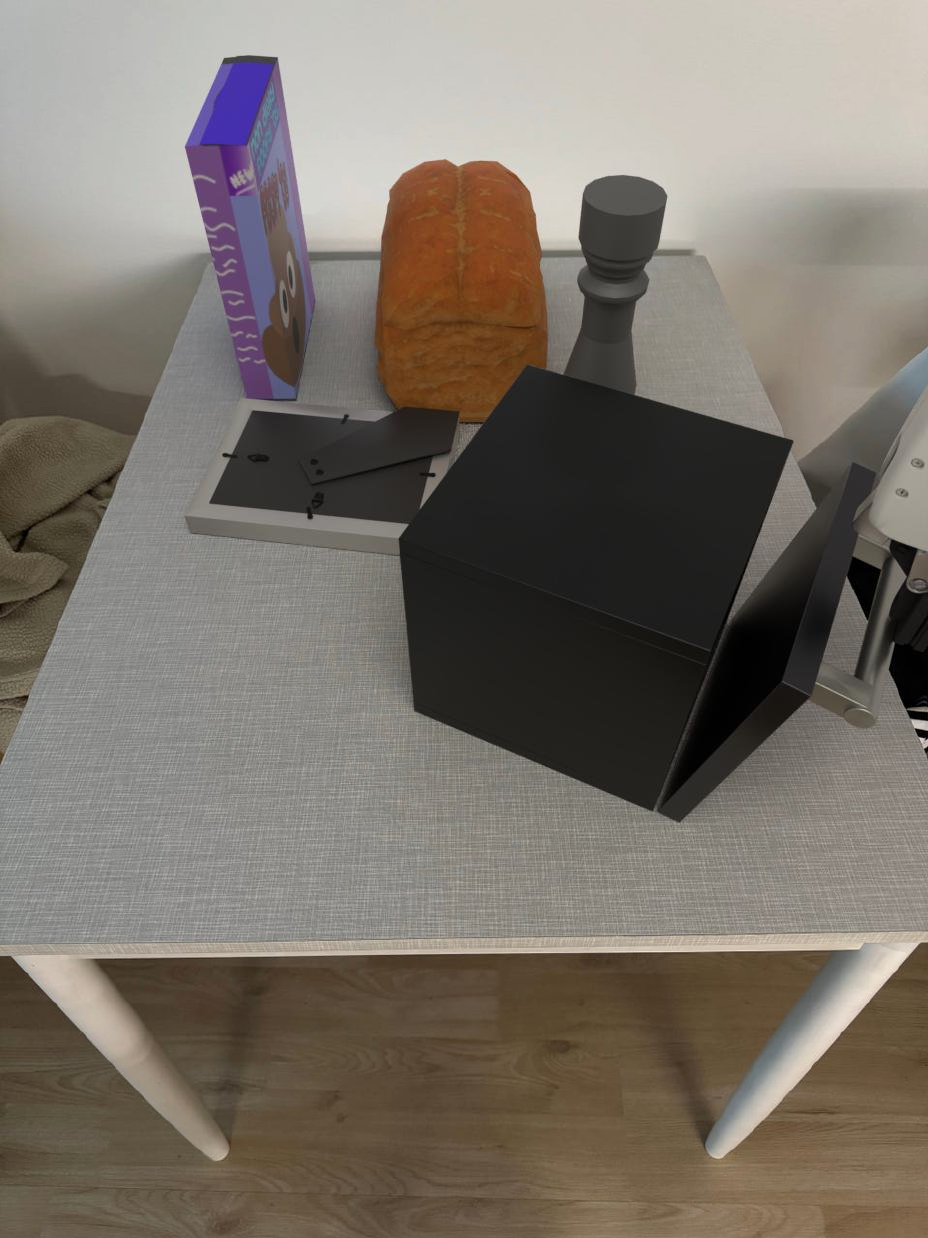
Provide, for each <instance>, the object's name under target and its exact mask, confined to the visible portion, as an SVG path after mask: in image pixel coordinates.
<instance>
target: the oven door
mask: <svg viewBox="0 0 928 1238" xmlns="http://www.w3.org/2000/svg"><path fill="white" fill-rule="evenodd" d="M877 474H878V473H877V472H876V471H874V470H872V469H870V468H868V467H866V466H864V465H860V464H859V463H856V462H854V461H852V462H851V463H850V464H849V466H848V467H847V468H846V470H845V471H844V472H843V473H842V475H840V477H839V479H838V480H837V481H836V482H835V484H834V485H833V486H832V488H831V489H830V490H829V492H827V494H826V495H825V497H824V498H823V499H822V500H821V502H820V503H819V505H818V506H817V507H816V508H815V510H814V511H813V513H812V514H810V517H808V519H807V520H806V522H805V523H804V524H803V526H802V527H800V530H799V531H798V532H797V533H796V534H795V536H794V537H793V539H791V541H790V543H789V544H788V545H787V546H786V548H785V549H784V550H783V551H782V553H781V554H780V556H779V557H778V558H777V559H776V560H775V562H774V563H773V565H772V566H771V567H770V569H768V571H767V572H766V574H765V575H764V576H763V578H762V579H761V580H760V581H759V582H758V584H757V585H756V587H755V588H754V589H753V590H752V591H751V593H750V594H749V596H748V597H747V598H746V600H745V601H744V602H743V603H742V605H741V606H740V607H739V608H738V610H737V612H736V613H735V614H734V615H733V617H732V618H731V619H730V622H729V625H728V628H727V630H726V633H725V635H724V637H723V641H722V642H721V646H720V648H719V651H718V654H717V656H716V658H715V661H714V663H713V667H712V668H711V672H710V675H709V677H708V679H707V682H706V685H705V687H704V690H703V692H702V695H701V697H700V700H699V702H698V704H697V705H698V706H697V708H696V711H695V712H694V716H693V718H692V721H691V723H690V726H689V729H688V731H687V734H686V736H685V739H684V742H683V744H682V747H681V749H680V752H679V755H678V757H677V760H676V763H675V765H674V768H673V770H672V773H671V776H670V778H669V781H668V784H667V786H666V789H665V791H664V794H663V796H662V799H661V802H660V804H659V806H658V810H657V811H658V812H659V813H660V814H662V815H664V816H666V817H667V818H669V819H672V820H673V821H675V822H677V823H681V822H682V821H683V820H685V818H686V817H687V816H688V815H689V814H690V813H692V811H694V810H695V809H696V807H698V806H699V805H700V804H701V803H702V802H703V801H704V800H705V799H706V798H707V797H708V796H709V795H710V794H711V793H712V792H713V791H714V790H715V789H717V787H719V786H720V784H722V782H724V781H725V780H726V779H727V778H728V777H729V776H730V775H731V774H732V773H733V772H734V771H735V770H736V769H737V768H739V766H740V765H742V763H744V762H745V761H746V760H747V759H748V758H749V757H750V756H751V755H752V754H753V753H754V752H755V751H756V750H757V749H758V748H759V747H760V746H761V745H763V744H764V743H765V742H766V741H767V740H768V739H769V738H770V737H771V736H772V735H773V734H774V733H775V732H776V731H777V730H778V729H780V727H781V726H783V724H784V723H785V722H786V721H787V720H789V718H791V717H792V716H793V714H795V713H796V712H797V711H798V710H799V709H801V708H800V707H802V706H803V705H804V704H805V703H806V702H807V701H809V702H811V703H812V704H815V705H817V706H819V707H820V708H822V709H825V710H827V711H829V712H831V713H832V714H835V715H837V716H839V717H840V718H843V719H844V721H845V722H846V723H847V724H849V725H851V726H852V727H855V728H858V729H871V728H872V727H874V726H876V724H877V721H878V716H879V713H880V710H881V709H880V708H881V704H882V700H883V695H884V691H885V687H886V682H887V679H888V674H889V670H890V665H891V661H892V656H893V653H894V648H895V644H896V643H895V642H893V640H894V636H895V631H896V627H897V623H898V620H897V619H894V618H891V617H889V612H890V608H891V605H892V602H893V600H894V597H895V596H896V594H897V592H898V590H899V589H900V587H901V585H902V584H903V582H904V580H905V579H906V575H905V573H904V572H903V570H902V569H901V567H900V566H899V564H898V563H897V561H896V560H895V558H894V557H893V555H892V553H891V552H890V550H889V547H887V546H885V545H883V546H882V545H880V544H878V543H876V542H874V541H872V540H870V539H868V538H866V537H864V536H863V535H861V534H859V533H857V532H855V531H854V530H853V528H852V523H853V520H854V516H855V513H856V510H857V508H858V507H859V506H860V505H861V503H862V502H863V501H864V500H865V499H866V498H867V497H868V496H869V495H870V494H871V493H872V492H873V488H874V484H875V481H876V477H877ZM853 558H856V559H857V560H860V561H861V562H864V563H866V564H868V565H871V566H872V567H875V568H877V569H879V570H880V573H879V577H878V581H877V584H876V589H875V592H874V596H873V599H872V604H871V608H870V611H869V616H868V620H867V623H866V627H865V631H864V634H863V639H862V643H861V646H860V649H859V654H858V658H857V662H856V665H855V670H854V673H853V675H852V674H850V673H848V672H845V670H842V669H841V668H838V667H837V666H836V667H835V666H834V665H832V664H830V663H828V662H826V661H824V660H823V658H824V655H825V651H826V649H827V645H828V642H829V638H830V635H831V632H832V627H833V625H834V621H835V617H836V614H837V611H838V608H839V604H840V600H841V597H842V593H843V589H844V586H845V583H846V581H847V580H846V579H847V577H848V573H849V570H850V565H851V562H852V559H853Z"/></svg>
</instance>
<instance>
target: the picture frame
mask: <svg viewBox="0 0 928 1238" xmlns="http://www.w3.org/2000/svg"><path fill="white" fill-rule="evenodd" d="M460 425H461V422H460V418H459V411H450V410H439V409H428V408H417V407H406V406H405V407H403V408H401V409H399V410H398V409H397V410H395V411H387V410H378V409H366V408H354V407H344V406H334V405H324V404H323V405H322V404H311V403H299V402H292V401H269V400H258V399H247V398H246V397H241V398H240V400H239V402H238V404H237V406H236V408H235V411H234V412H233V415H232V416H231V419H230V421H229V423H228V425H227V427H226V429H225V431H224V433H223V435H222V438H221V439H220V441H219V443H218V445H217V447H216V450H215V451H214V454H213V456H212V458H211V460H210V462H209V463H208V466H207V467H206V470H205V472H204V474H203V476H202V478H201V480H200V483H199V484H198V486H197V489H196V490H195V492H194V493H193V497H192V498H191V501H190V502H189V504H188V507H187V508H186V510H185V513H184V514H183V517H184V520H185V522H186V525H187V528H188V530H189V533H191V534H199V535H206V536H207V535H208V536H209V535H210V536H215V537H216V536H217V537H225V538H226V537H227V538H235V539H245V540H253V541H263V542H273V543H282V544H291V545H300V546H309V547H319V548H328V549H336V550H347V551H356V552H357V551H358V552H364V553H365V552H366V553H374V554H384V555H393V556H400V550H399V537H400V536H401V534H402V533H403V531H404V530H405V529H406V527H407V526H408V525H409V523H410V522H411V521H412V519H413V518H414V517H415V515H416V514H417V513H418V511H419V510H420V508H421V507H422V506H423V504H424V503H425V502H426V500H427V499H428V498H429V496H430V495H431V494H432V492H433V491H434V489H435V488H436V487H437V485H438V484H439V483H440V481H441V480H442V479H443V477H444V476H445V475H446V473H447V472H448V471H449V469H450V468H451V466H452V465H453V464H454V462H455V459H456V453H457V449H458V445H459V440H460V437H461V431H460V430H461V427H460Z"/></svg>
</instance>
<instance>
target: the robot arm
mask: <svg viewBox="0 0 928 1238" xmlns="http://www.w3.org/2000/svg"><path fill="white" fill-rule="evenodd" d="M877 480H878V482H879V484H878V485H877V486H876V487H875V488H874V490H872V491H871V494H870V495H869V496H868V497H867V498H866V499H865V500H864V501H863V502H862V503H861V505H860V506H859V507H858V508H857V510H856V513H855V516H854V520H853V523H852V528H853V530H854V531H855V532H857V533H859V534H861V535H863V536H864V537H866V538H868V539H870V540H872V541H874V542H876V543H878V544H880V545H882V546H883V545H885V546H887V547H889V550H890V552H891V553H892V555H893V557H894V558H895V560H896V561H897V563H898V564H899V566H900V567H901V569H902V570H903V572H904V573H905V575H906V579H905V580H904V582H903V584H902V585H901V587H900V589H899V590H898V592H897V594H896V596H895V597H894V600H893V602H892V605H891V608H890V612H889V617H891V618H894V619H897V620H898V623H897V627H896V631H895V636H894V640H893V642H895V644H898V645H901V646H904V645H905V644H906V645H909V646H912V649H913V650H915V651H918V652H921V653H924V652H925V650H927V647H928V384H927V385H926V386H925V388H924V389H923V391H922V393H921V394H920V396H919V398H918V399H917V401H916V403H915V405H914V406H913V407H912V410H910V413H909V414H908V416H907V418H906V420H905V421H904V423H903V425H902V427H901V428H900V430H899V432H898V434H897V435H896V437H895V439H894V440H893V442H892V444H891V447H890V448H889V450H888V452H887V454H886V456H885V458H884V461H883V462H882V465H881V468H880V469H879V472H878V476H877Z"/></svg>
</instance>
